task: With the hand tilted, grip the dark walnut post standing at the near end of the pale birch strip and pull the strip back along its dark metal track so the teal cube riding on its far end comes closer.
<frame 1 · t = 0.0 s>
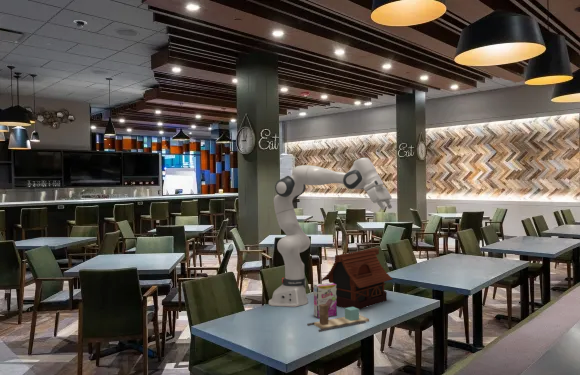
hand: (387, 208, 230), 54 cm above the table, tool tilted 30°, fingers open, 8 cm apart
track: (341, 323, 219), on the table
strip: (341, 312, 219), point 5 cm above the table, slide at 0.0 cm, touching cube
house: (358, 302, 258), on the table
cube: (352, 318, 222), point 1 cm above the table, touching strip
candy bar box: (325, 316, 232), on the table
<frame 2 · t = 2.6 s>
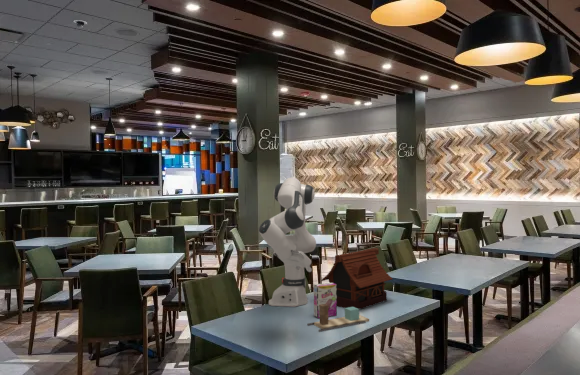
hand: (304, 269, 209), 28 cm above the table, tool tilted 45°, fingers open, 8 cm apart
nothing on the table moved.
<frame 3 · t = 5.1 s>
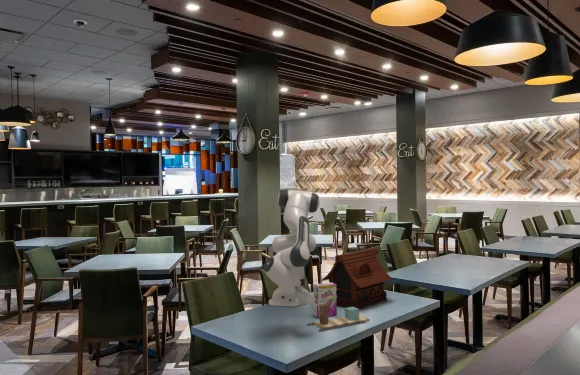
hand: (310, 303, 212), 12 cm above the table, tool tilted 45°, fingers open, 8 cm apart
nothing on the table moved.
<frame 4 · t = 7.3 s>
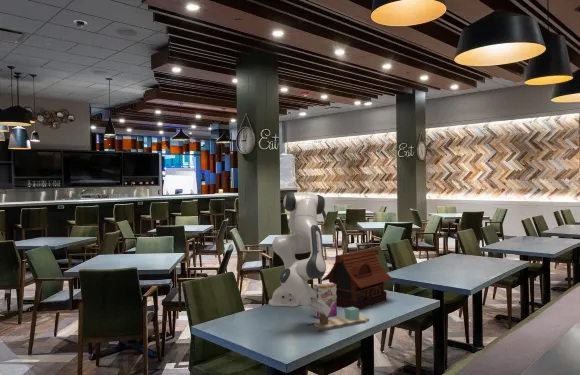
hand: (324, 313, 215), 6 cm above the table, tool tilted 45°, fingers closed on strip, 3 cm apart
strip: (341, 312, 219), point 5 cm above the table, slide at 0.0 cm, touching gripper
cube: (352, 318, 222), point 1 cm above the table
everything else where it was.
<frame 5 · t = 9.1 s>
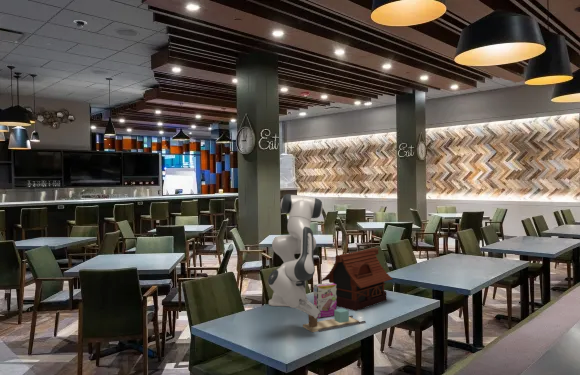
hand: (313, 315, 212), 6 cm above the table, tool tilted 45°, fingers closed on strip, 3 cm apart
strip: (330, 314, 217), point 5 cm above the table, slide at 6.1 cm, touching cube, gripper
cube: (341, 320, 219), point 1 cm above the table, touching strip
everything else where it was.
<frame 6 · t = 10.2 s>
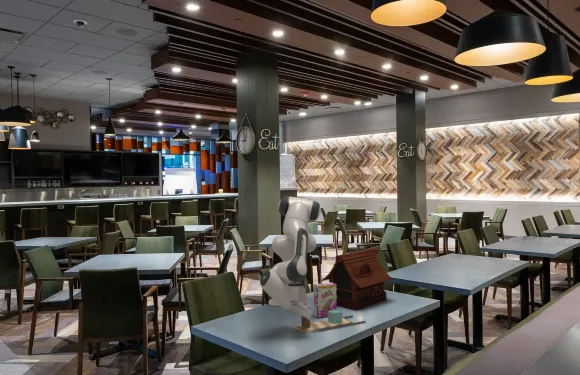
hand: (306, 317, 211), 6 cm above the table, tool tilted 45°, fingers closed on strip, 3 cm apart
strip: (324, 315, 215), point 5 cm above the table, slide at 9.9 cm, touching gripper
cube: (335, 321, 218), point 1 cm above the table
everything else where it was.
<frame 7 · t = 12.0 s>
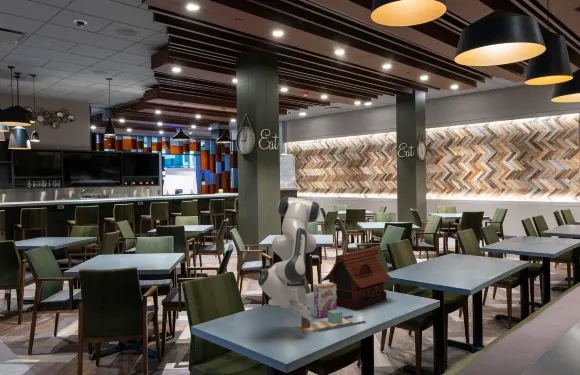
hand: (305, 316, 210), 6 cm above the table, tool tilted 45°, fingers open, 8 cm apart
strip: (324, 315, 215), point 5 cm above the table, slide at 9.9 cm, touching cube
cube: (334, 321, 218), point 1 cm above the table, touching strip
everything else where it was.
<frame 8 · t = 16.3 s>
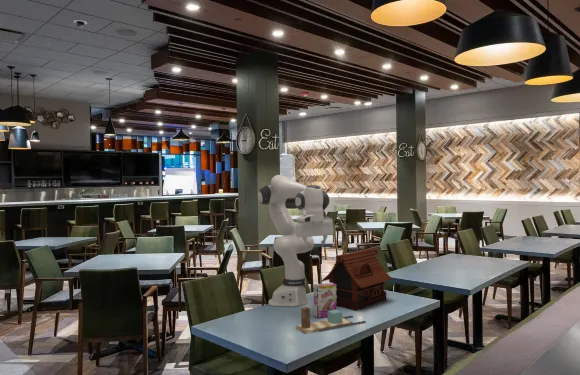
hand: (315, 245, 227), 37 cm above the table, tool pointing down, fingers open, 8 cm apart
nothing on the table moved.
at the end: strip slide at 9.9 cm; cube inside the target area on the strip (0.0 cm from its centre), point 1.2 cm above the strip's base; cube moved 9.9 cm from its start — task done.
